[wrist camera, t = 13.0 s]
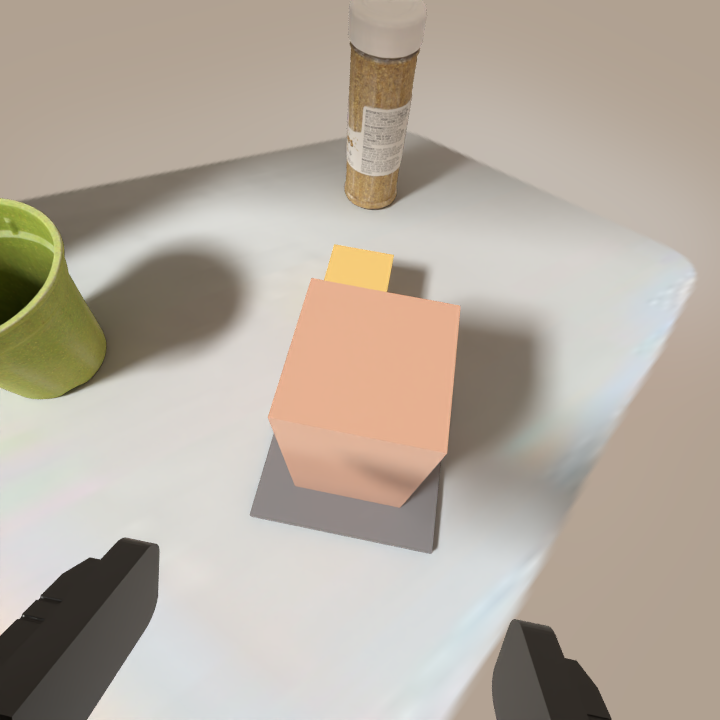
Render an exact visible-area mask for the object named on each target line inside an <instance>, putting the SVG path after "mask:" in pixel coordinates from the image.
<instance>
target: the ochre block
mask: <svg viewBox="0 0 720 720" xmlns="http://www.w3.org/2000/svg"><path fill="white" fill-rule="evenodd" d="M393 257H394V255H391V254H385V253H380V252H374V251H368V250H363V249H357V248H352V247H346V246H340V245H335V244H334V247H333V251H332V254H331V258H330V261H329V265H328V268H327V272H326V275H325V279H324V280H325V281H330V282H335V283H341V284H346V285H351V286H357V287H362V288H368V289H373V290H378V291H384V292H387V290H388V285H389V279H390V274H391V268H392V263H393Z"/></svg>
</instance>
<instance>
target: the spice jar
mask: <svg viewBox="0 0 720 720" xmlns="http://www.w3.org/2000/svg"><path fill="white" fill-rule="evenodd" d="M426 15H427V9H426V5H425V4H424V2H423V0H351V1H350V6H349V28H348V30H349V31H348V35H349V39H350V46H351V63H350V86H349V99H348V122H347V148H346V157H347V175H346V182H345V193H346V195H347V197H348V199H349V200H350V201H351V202H352V203H354V204H355V205H357V206H359V207H363V208H367V209H378V208H383V207H386V206H388V205H389V204H391V203H392V201H393V200H394V199H395V197H396V194H397V186H396V184H397V178H398V172H399V166H400V164H401V160H402V154H403V148H404V141H405V135H406V130H407V124H408V117H409V111H410V105H411V100H412V88H413V79H414V73H415V68H416V62H417V55H418V54H419V51H420V47H421V45H422V42H423V36H424V30H425V23H426Z"/></svg>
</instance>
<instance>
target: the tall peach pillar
mask: <svg viewBox="0 0 720 720" xmlns="http://www.w3.org/2000/svg"><path fill="white" fill-rule="evenodd" d="M459 317H460V306H459V305H453V304H448V303H443V302H437V301H432V300H427V299H421V298H416V297H410V296H405V295H400V294H394V293H389V292H384V291H378V290H373V289H368V288H362V287H357V286H351V285H346V284H341V283H335V282H330V281H325V280H319V279H314V278H311V281H310V284H309V288H308V291H307V294H306V297H305V300H304V303H303V307H302V310H301V313H300V316H299V319H298V323H297V326H296V329H295V332H294V335H293V339H292V342H291V345H290V348H289V351H288V355H287V358H286V361H285V364H284V367H283V371H282V374H281V377H280V380H279V383H278V386H277V390H276V393H275V396H274V399H273V402H272V406H271V409H270V412H269V415H268V419H269V422H270V424H271V427H272V429H273V432H274V434H275V437H276V439H277V442H278V444H279V447H280V449H281V452H282V455H283V457H284V460H285V462H286V465H287V467H288V470H289V472H290V475H291V477H292V480H293V482H294V485H295V486H297V487H302V488H307V489H312V490H316V491H321V492H326V493H331V494H336V495H341V496H345V497H350V498H355V499H360V500H365V501H369V502H374V503H379V504H384V505H389V506H394V507H398V508H400V507H401V506H402V505H403V504H404V503H405V502H406V500H407V499H408V498H409V497H410V496H411V495H412V494H413V492H414V491H415V490H416V489H417V488H418V487H419V485H420V484H421V483H422V482H423V481H424V480H425V478H426V477H427V476H428V475H429V474H430V473H431V471H432V470H433V469H434V468H435V467H436V466H437V465H438V463H439V462H440V461H441V460H442V459H443V458H444V456H445V455H446V454H447V449H448V438H449V427H450V416H451V405H452V394H453V383H454V372H455V361H456V350H457V339H458V328H459Z"/></svg>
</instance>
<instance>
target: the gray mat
mask: <svg viewBox="0 0 720 720" xmlns="http://www.w3.org/2000/svg"><path fill="white" fill-rule="evenodd" d="M440 464H441V461H440V462H439V463H438V465H437V466H436V467H435V468H434V469H433V470H432V471H431V473H430V474H429V475H428V476H427V477H426V478H425V480H424V481H423V482H422V483H421V484H420V485H419V487H418V488H417V489H416V490H415V491H414V492H413V494H412V495H411V496H410V497H409V498H408V499H407V500H406V502H405V503H404V504H403V505H402V506H401V507H400V508H398V507H394V506H389V505H384V504H379V503H374V502H369V501H365V500H360V499H355V498H350V497H345V496H341V495H336V494H331V493H326V492H321V491H316V490H312V489H307V488H302V487H297V486H295V485H294V482H293V480H292V477H291V475H290V472H289V470H288V467H287V465H286V462H285V460H284V457H283V455H282V452H281V449H280V447H279V444H278V442H277V439H276V437H275V434H274V435H273V438H272V441H271V445H270V448H269V452H268V455H267V458H266V462H265V465H264V468H263V472H262V475H261V478H260V482H259V485H258V489H257V492H256V495H255V499H254V502H253V505H252V509H251V512H250V516H252V517H257V518H261V519H266V520H271V521H276V522H281V523H285V524H290V525H295V526H300V527H305V528H309V529H314V530H319V531H324V532H329V533H333V534H338V535H343V536H348V537H353V538H357V539H362V540H367V541H372V542H377V543H381V544H386V545H391V546H396V547H401V548H405V549H410V550H415V551H420V552H425V553H429V554H431V553H432V548H433V538H434V527H435V517H436V506H437V496H438V485H439V474H440Z"/></svg>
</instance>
